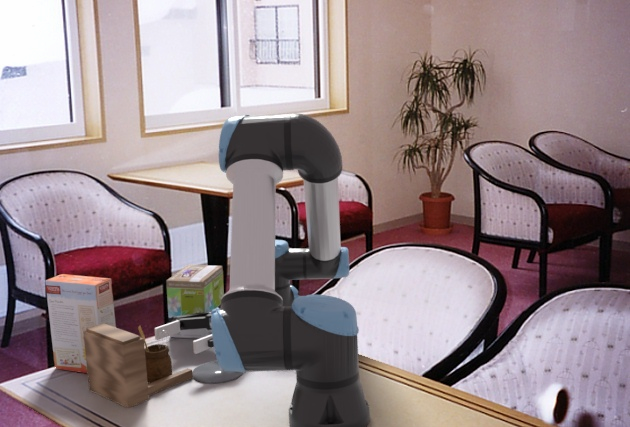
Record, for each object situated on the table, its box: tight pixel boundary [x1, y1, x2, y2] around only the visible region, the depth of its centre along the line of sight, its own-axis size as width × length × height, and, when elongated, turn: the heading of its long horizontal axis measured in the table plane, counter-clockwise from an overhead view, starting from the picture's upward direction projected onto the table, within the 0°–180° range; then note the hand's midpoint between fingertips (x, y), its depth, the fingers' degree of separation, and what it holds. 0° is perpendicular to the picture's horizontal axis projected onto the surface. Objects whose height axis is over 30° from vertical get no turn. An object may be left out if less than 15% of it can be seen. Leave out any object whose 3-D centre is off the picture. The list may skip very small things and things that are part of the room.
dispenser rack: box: [83, 323, 194, 409], centre depth 171 cm, size 14×18×14 cm
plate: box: [192, 360, 244, 384], centre depth 176 cm, size 11×11×1 cm
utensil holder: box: [137, 325, 173, 384], centre depth 173 cm, size 6×6×12 cm
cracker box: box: [44, 273, 117, 374], centre depth 180 cm, size 14×6×21 cm, turn 65°
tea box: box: [166, 264, 225, 339], centre depth 204 cm, size 15×10×15 cm, turn 168°
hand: (174, 340), depth 177 cm, fingers open, 13 cm apart
